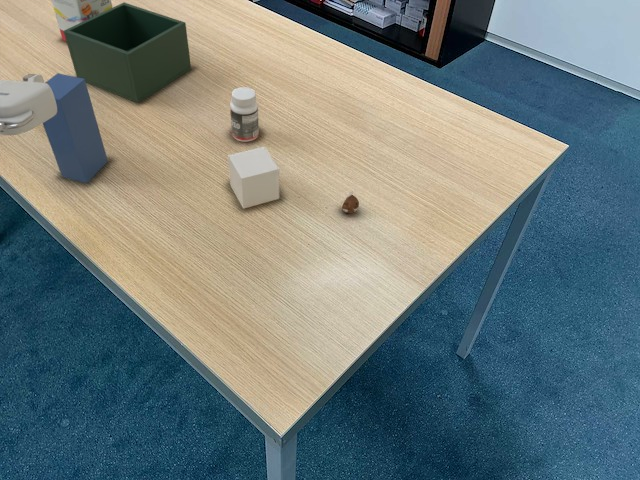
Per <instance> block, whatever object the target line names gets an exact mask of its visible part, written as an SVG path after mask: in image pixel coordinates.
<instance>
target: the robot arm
mask: <svg viewBox="0 0 640 480" xmlns="http://www.w3.org/2000/svg"><path fill="white" fill-rule="evenodd" d="M44 81H45V80H44V77H43V75H42V74H39V73H28V74H27V75H24V76H22V80H11V79H9V80H8V79H0V136H16V135H22V134H25V133H27V132H29V131H31V130H33V129H35V128H37V127H39V126H41V125H43V123H44V122H46V121H47V120H49V119H50V118H52V117H53V116H55V115H56V113H57V104H56V100H55V97H54V94H53V91H52V89H51V87H50V86H49V85H48V84H47V83H45V82H44Z"/></svg>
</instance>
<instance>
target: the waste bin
mask: <svg viewBox="0 0 640 480" xmlns="http://www.w3.org/2000/svg"><path fill="white" fill-rule="evenodd" d="M63 32H64V35H65V38H66V41H65V42H66V44H67V45H66V46H67V48H68V51H69V55H70V58H71V62H72V66H73V68H74V69H73V70H74V73H75V75H76V77H77V78H82V79H85V82H86V84H89V85H91V86H93V87H96V88H99V89H100V90H101V89H102V90H103V91H106V92H109V93H111V94H114V95H116V96H118V97H121V98H123V99H126V100H129V101H132V102H134V103H136V104H140V103H142V102H143V101H145V100H147V98H149V97H151V96H152V95H155V93H157V92H159V91H160V90H162V89H163V88H165V87H166V86H167V85H169V84H171V83H172V82H175V80H177V79H179V78H180V77H182V76H183V75H185V74H187V73H188V72H190V70H192V64H191V57H190V56H191V55H190V49H189V48H190V47H189V40H188V32H187V24H186V22H185V21H182V20H180V19H176V18H173V17H170V16H167V15H164V14H161V13H158V12H155V11H152V10H148V9H145V8H142V7H139V6H136V5H133V4H130V3H127V2H122V3H119V4H118V5H115V6H112V8H111V9H109V10H107V11H105V12H102V13H100V14H98V15H96V16H94V17H92V18H90V19H88V20H85V21H83V22H81V23H79V24H77V25H75V26H73V27H71V28H68V29H66V30H64V31H63Z"/></svg>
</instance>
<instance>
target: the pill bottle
mask: <svg viewBox="0 0 640 480" xmlns="http://www.w3.org/2000/svg"><path fill="white" fill-rule="evenodd" d="M229 111H230V124H231V125H230V127H231V135H232V137H233V138H234V139H235V140H236V141H238V142H244V143H246V142H247V143H248V142H252V141H254V140H256V139H257V138H258V137H259V134H260V130H259V129H260V127H259V126H260V125H259V104H258V101H257V93H256V91H255V90H254V88H251V87H248V86H247V87H246V86H240V87H237V88H235V89H233V90H232V92H231V101H230V103H229Z"/></svg>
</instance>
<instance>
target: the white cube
mask: <svg viewBox="0 0 640 480" xmlns="http://www.w3.org/2000/svg"><path fill="white" fill-rule="evenodd" d="M227 162H228V175H229V186H230V187H231V189H232V191H233V193H234V194H235V197H236V199H237V201H238V202H239V203H240V205H241V207H242V209H243V210H244V209H247V208H251V207H255V206H259V205H262V204H265V203H269V202H273V201H276V200H280V168H279V165H277V163H276V161H275V160H274V158H273V157H272V156H271V153H269V151H268V149H267V148H266V147H265V146H262V147H257V148H252V149H249V150H244V151H240V152H235V153H231V154H228V155H227Z"/></svg>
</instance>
